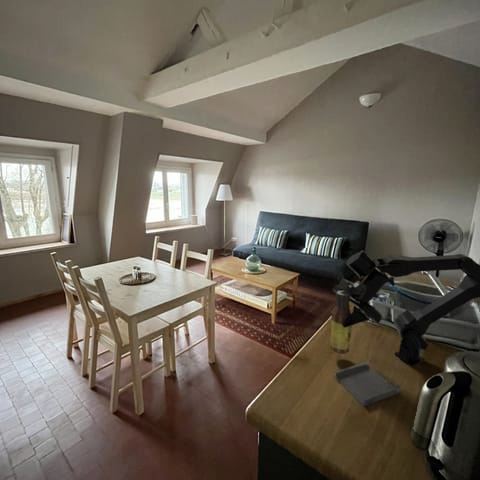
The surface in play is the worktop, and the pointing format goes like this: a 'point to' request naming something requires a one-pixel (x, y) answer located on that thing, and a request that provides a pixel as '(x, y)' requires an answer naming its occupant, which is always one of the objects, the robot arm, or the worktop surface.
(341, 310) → the sauce bottle
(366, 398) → the floor track
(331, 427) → the worktop surface
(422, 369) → the worktop surface
